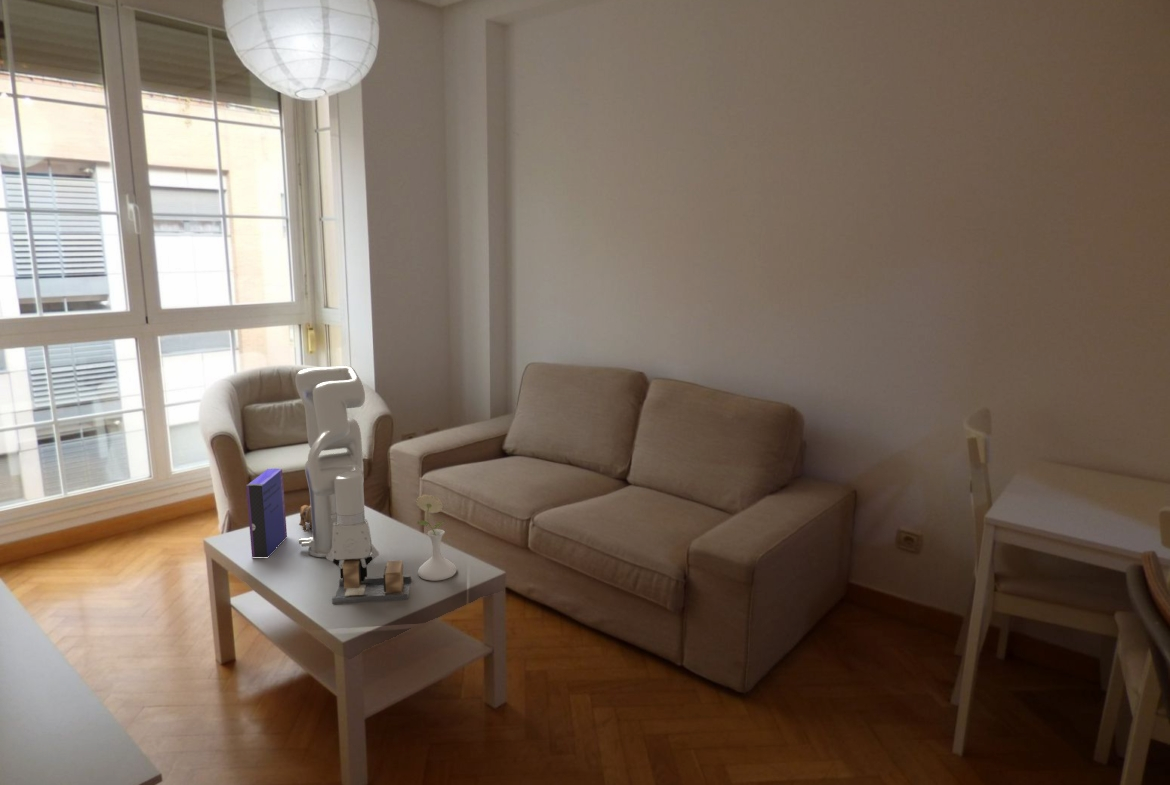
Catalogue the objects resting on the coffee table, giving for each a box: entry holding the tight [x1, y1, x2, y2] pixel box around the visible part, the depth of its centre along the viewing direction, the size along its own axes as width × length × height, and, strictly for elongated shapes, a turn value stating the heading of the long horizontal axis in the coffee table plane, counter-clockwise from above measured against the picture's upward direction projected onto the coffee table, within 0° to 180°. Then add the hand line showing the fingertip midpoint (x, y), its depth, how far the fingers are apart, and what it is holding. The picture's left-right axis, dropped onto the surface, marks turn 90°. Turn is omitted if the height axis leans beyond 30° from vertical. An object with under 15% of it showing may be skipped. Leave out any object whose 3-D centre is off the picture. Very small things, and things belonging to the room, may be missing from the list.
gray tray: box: [331, 574, 412, 605], centre depth 212 cm, size 20×12×2 cm, turn 98°
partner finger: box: [383, 560, 404, 593], centre depth 212 cm, size 5×8×7 cm, turn 8°
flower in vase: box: [415, 494, 457, 582], centre depth 222 cm, size 13×11×25 cm
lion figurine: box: [299, 504, 312, 531], centre depth 262 cm, size 15×5×9 cm, turn 37°
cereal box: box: [245, 468, 288, 558], centre depth 242 cm, size 17×5×24 cm, turn 2°
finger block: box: [342, 559, 362, 589], centre depth 209 cm, size 4×8×7 cm, turn 8°
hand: (354, 579), depth 210 cm, fingers closed on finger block, 4 cm apart
